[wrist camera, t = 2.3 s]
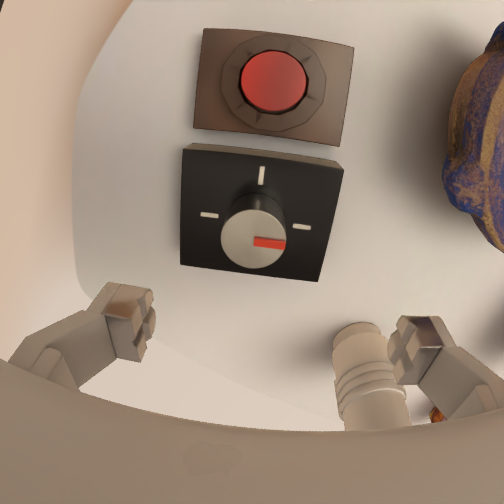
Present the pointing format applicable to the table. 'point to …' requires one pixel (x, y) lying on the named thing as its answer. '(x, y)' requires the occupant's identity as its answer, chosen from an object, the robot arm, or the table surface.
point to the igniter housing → (263, 121)
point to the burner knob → (254, 231)
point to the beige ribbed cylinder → (367, 381)
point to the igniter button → (273, 81)
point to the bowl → (479, 142)
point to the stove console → (262, 182)
